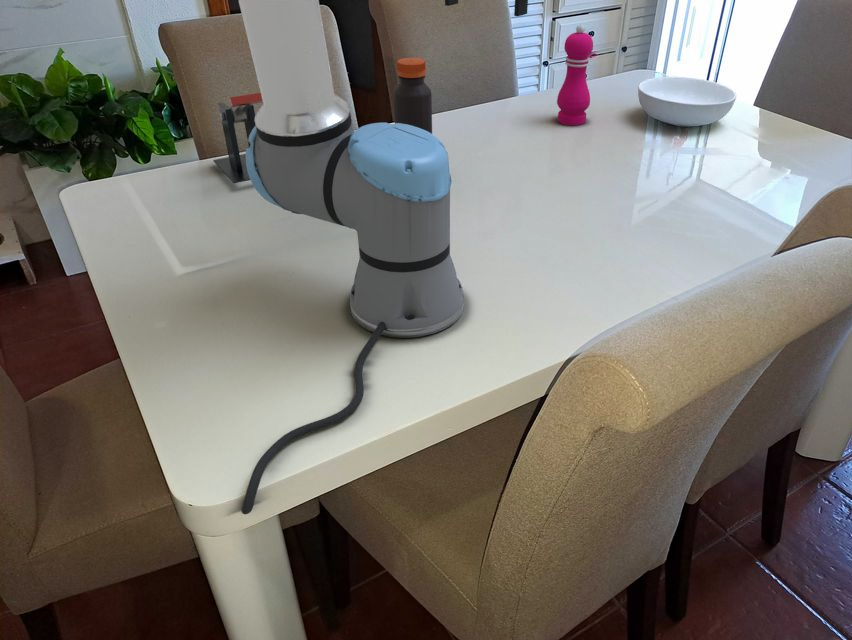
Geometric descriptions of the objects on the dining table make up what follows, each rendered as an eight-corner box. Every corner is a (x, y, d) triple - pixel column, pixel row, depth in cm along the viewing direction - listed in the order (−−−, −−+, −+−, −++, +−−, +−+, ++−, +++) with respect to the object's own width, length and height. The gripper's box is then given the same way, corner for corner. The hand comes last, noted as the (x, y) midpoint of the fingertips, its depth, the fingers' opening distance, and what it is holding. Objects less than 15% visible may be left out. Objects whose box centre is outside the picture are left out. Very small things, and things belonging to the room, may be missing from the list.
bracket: (283, 179, 130) (272, 109, 122) (235, 189, 126) (220, 118, 118) (260, 157, 138) (249, 91, 130) (214, 166, 134) (200, 98, 127)
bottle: (394, 166, 135) (388, 57, 123) (428, 163, 136) (426, 55, 124) (400, 180, 130) (395, 67, 118) (436, 177, 131) (434, 65, 119)
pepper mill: (548, 120, 157) (556, 24, 145) (569, 113, 161) (578, 19, 149) (573, 128, 153) (583, 30, 141) (594, 121, 157) (605, 24, 145)
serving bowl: (725, 141, 147) (733, 108, 143) (626, 128, 153) (630, 96, 149) (732, 112, 163) (740, 81, 159) (642, 101, 169) (646, 71, 165)
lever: (272, 102, 117) (268, 87, 116) (233, 108, 114) (229, 93, 113) (255, 119, 128) (251, 106, 128) (220, 125, 125) (215, 112, 125)
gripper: (577, -149, 99) (563, 15, 111) (436, -152, 110) (438, -3, 123) (551, -149, 94) (539, 23, 106) (406, -152, 105) (411, 3, 118)
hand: (485, 9), depth 115 cm, fingers open, 13 cm apart
